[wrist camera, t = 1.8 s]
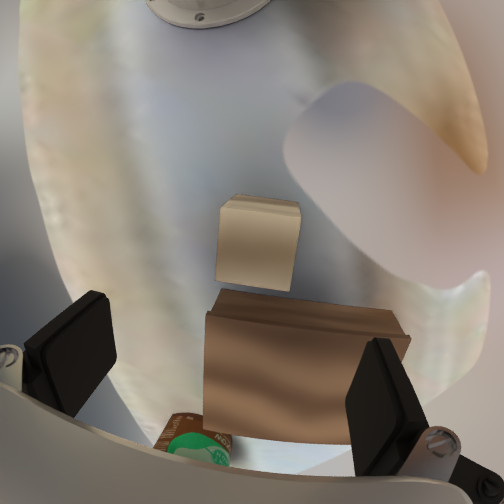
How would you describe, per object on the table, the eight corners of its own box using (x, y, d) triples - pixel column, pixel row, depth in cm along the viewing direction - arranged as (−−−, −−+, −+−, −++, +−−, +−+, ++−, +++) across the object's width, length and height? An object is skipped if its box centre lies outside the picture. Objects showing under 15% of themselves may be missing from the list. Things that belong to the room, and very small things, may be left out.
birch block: (236, 194, 24) (220, 207, 19) (297, 202, 24) (301, 217, 18) (230, 252, 26) (214, 280, 20) (289, 260, 26) (289, 291, 20)
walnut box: (219, 286, 27) (205, 314, 22) (394, 308, 26) (411, 338, 21) (212, 396, 32) (202, 429, 27) (351, 412, 31) (357, 444, 26)
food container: (259, 447, 34) (251, 508, 25) (224, 456, 36) (211, 512, 27) (199, 394, 32) (175, 461, 22) (164, 407, 34) (137, 466, 24)
